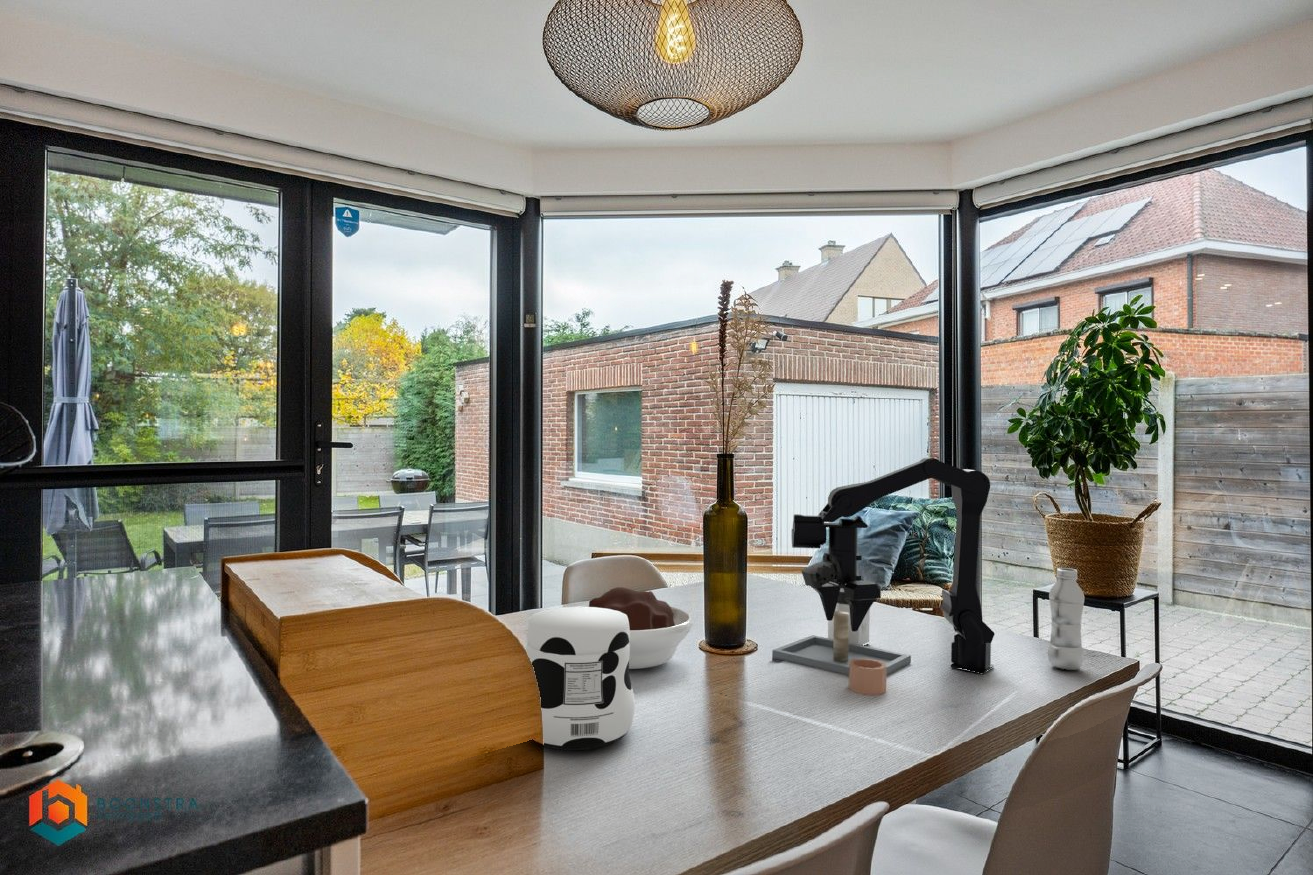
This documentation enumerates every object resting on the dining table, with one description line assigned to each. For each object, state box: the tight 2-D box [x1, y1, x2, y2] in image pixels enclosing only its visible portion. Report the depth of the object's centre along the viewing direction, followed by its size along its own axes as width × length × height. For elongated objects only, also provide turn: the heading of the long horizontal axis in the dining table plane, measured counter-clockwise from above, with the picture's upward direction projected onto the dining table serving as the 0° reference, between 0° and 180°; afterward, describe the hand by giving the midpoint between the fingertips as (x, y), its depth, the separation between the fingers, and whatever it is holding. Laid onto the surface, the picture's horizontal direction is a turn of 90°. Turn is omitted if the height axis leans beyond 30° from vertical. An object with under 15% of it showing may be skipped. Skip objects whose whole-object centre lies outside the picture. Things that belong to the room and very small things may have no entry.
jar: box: [827, 588, 871, 645], centre depth 172 cm, size 9×8×12 cm
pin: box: [833, 611, 849, 662], centre depth 157 cm, size 3×3×10 cm
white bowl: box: [584, 586, 693, 670], centre depth 155 cm, size 25×25×15 cm
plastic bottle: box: [1047, 567, 1086, 671], centre depth 155 cm, size 6×7×20 cm
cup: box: [848, 658, 887, 696], centre depth 139 cm, size 6×6×5 cm
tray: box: [771, 634, 912, 677], centre depth 157 cm, size 22×16×2 cm
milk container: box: [525, 606, 636, 751], centre depth 117 cm, size 17×17×18 cm
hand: (841, 625), depth 157 cm, fingers open, 9 cm apart
